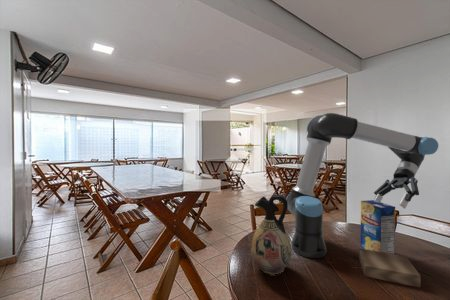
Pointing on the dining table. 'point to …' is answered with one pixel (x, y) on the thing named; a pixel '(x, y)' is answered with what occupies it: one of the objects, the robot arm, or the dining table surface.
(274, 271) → the ceramic jug
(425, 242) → the dining table surface
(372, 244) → the beverage box
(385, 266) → the walnut pedestal block
